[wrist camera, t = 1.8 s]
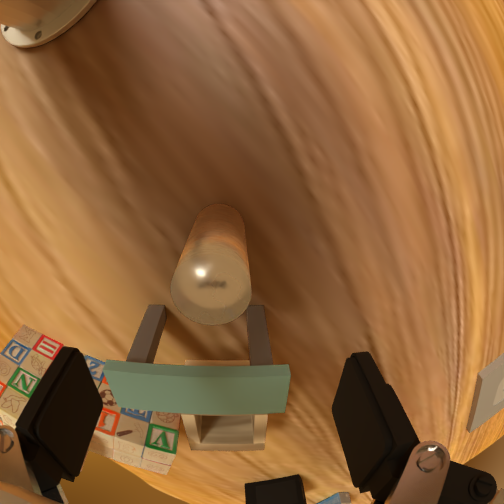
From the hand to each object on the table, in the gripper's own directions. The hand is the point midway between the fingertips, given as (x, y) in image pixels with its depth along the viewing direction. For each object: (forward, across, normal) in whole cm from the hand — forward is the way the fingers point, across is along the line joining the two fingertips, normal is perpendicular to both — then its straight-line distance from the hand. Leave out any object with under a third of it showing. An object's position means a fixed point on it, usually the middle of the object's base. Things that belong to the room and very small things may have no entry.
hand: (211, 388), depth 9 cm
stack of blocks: (+16, +16, +17) cm, 29 cm away
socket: (+16, 0, +18) cm, 24 cm away
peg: (+16, 0, -1) cm, 16 cm away
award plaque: (+18, -59, +27) cm, 68 cm away
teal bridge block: (+16, +2, +7) cm, 18 cm away
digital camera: (+17, -7, +49) cm, 52 cm away
